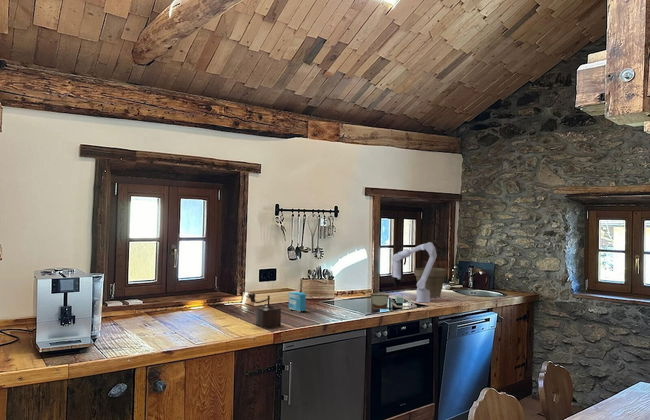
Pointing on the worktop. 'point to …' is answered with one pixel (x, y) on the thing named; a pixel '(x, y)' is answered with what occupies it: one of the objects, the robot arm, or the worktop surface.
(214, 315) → the worktop surface
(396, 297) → the painted block
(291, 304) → the light blue box
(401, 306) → the chute
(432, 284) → the plant pot
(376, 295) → the food container
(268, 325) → the manual coffee grinder
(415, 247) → the robot arm
